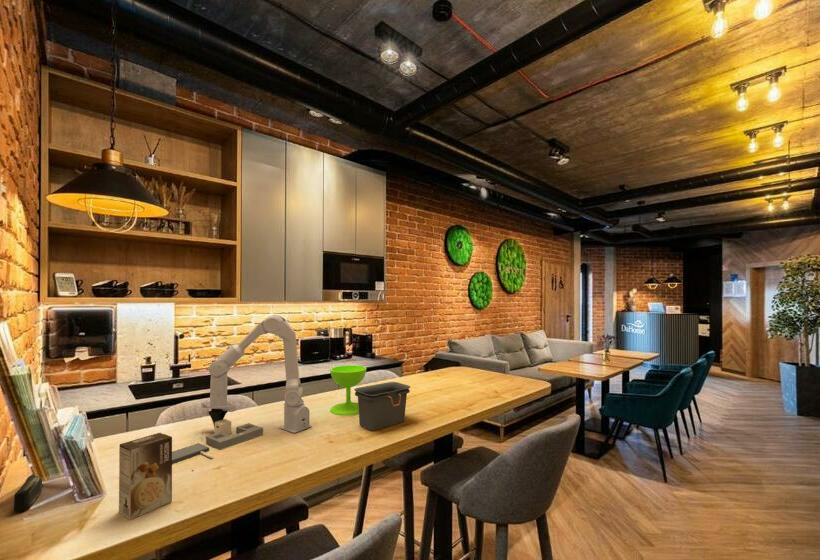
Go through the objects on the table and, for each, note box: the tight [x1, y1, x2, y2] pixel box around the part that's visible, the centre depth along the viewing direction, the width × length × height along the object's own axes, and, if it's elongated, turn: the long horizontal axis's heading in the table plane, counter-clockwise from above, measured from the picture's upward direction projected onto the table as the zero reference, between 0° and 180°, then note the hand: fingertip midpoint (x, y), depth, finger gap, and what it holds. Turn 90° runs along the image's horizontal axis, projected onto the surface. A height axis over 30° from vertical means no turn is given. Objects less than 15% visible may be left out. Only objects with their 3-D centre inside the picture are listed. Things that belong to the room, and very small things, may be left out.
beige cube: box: [213, 418, 233, 435], centre depth 137 cm, size 4×4×4 cm
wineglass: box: [329, 364, 367, 416], centre depth 166 cm, size 16×16×18 cm
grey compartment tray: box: [205, 422, 264, 450], centre depth 132 cm, size 9×16×2 cm, turn 146°
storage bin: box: [353, 381, 411, 431], centre depth 147 cm, size 21×16×14 cm
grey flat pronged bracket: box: [172, 442, 214, 465], centre depth 117 cm, size 14×13×1 cm
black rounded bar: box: [13, 473, 44, 513], centre depth 94 cm, size 5×3×15 cm
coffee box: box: [118, 432, 173, 520], centre depth 91 cm, size 9×6×16 cm
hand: (217, 429), depth 139 cm, fingers closed, pressing on beige cube
